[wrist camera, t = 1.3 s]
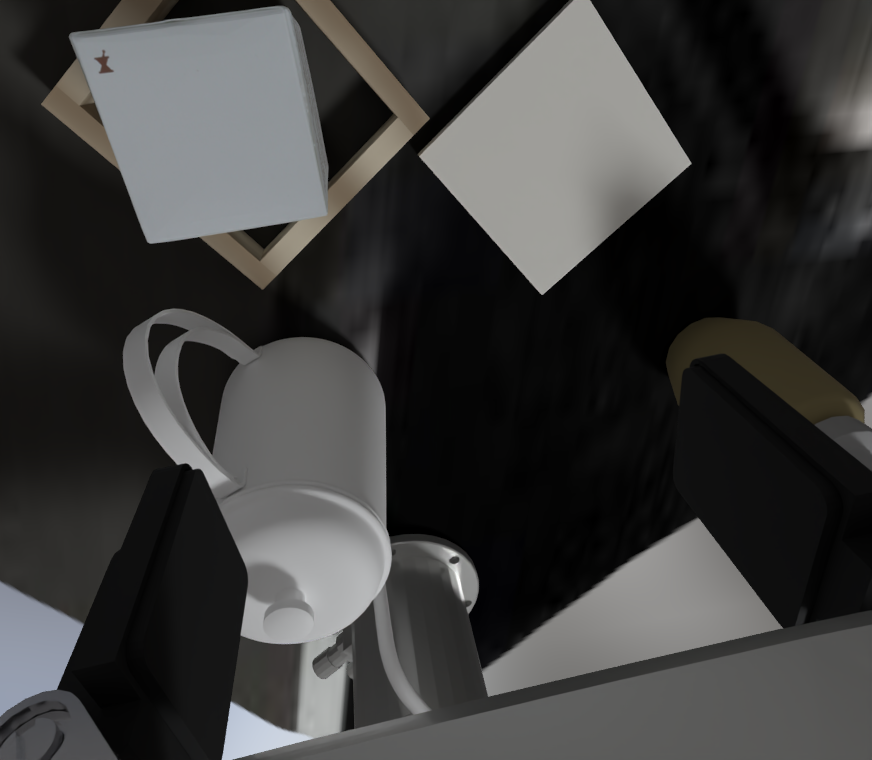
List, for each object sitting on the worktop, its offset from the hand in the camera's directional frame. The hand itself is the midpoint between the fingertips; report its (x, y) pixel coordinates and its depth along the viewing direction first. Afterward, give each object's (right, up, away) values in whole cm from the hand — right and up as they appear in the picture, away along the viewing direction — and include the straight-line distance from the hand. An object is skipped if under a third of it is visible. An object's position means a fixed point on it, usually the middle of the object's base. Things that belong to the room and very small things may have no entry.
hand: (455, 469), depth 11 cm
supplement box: (-10, +17, +21) cm, 29 cm away
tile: (+7, +15, +24) cm, 30 cm away
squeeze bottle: (+20, +4, +33) cm, 38 cm away
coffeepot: (-9, 0, +30) cm, 32 cm away
